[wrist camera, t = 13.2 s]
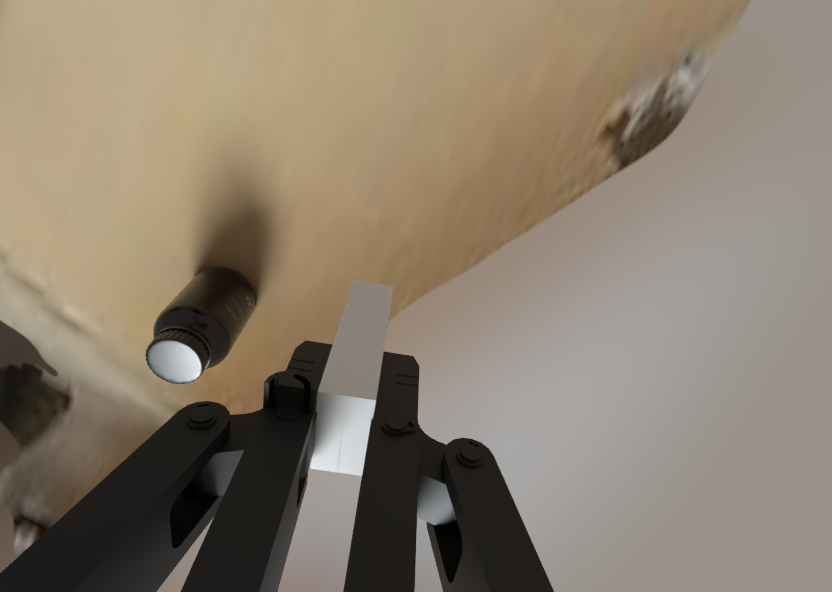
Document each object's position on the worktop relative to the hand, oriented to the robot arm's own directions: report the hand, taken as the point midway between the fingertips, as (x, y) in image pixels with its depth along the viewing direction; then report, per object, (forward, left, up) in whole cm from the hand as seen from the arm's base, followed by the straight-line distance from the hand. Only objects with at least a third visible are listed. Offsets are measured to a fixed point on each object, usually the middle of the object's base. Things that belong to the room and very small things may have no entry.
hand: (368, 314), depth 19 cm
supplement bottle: (+1, -24, -30) cm, 38 cm away
